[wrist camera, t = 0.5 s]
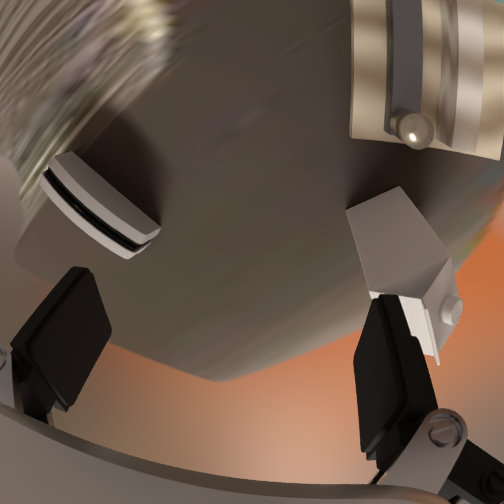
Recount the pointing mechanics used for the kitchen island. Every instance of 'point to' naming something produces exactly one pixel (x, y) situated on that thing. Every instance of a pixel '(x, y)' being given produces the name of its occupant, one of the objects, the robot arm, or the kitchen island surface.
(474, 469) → the robot arm
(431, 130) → the swing bar
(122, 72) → the kitchen island surface
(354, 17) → the base
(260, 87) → the kitchen island surface
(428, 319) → the milk carton
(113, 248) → the grey curved block
